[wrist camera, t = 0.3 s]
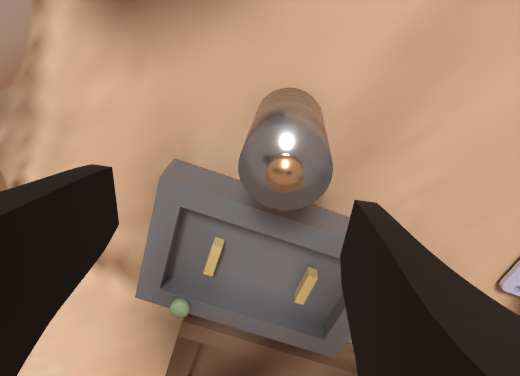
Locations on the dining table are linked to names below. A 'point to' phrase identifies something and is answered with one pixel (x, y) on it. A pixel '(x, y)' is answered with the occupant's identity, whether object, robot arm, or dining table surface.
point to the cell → (286, 152)
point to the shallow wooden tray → (248, 354)
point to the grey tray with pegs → (245, 261)
